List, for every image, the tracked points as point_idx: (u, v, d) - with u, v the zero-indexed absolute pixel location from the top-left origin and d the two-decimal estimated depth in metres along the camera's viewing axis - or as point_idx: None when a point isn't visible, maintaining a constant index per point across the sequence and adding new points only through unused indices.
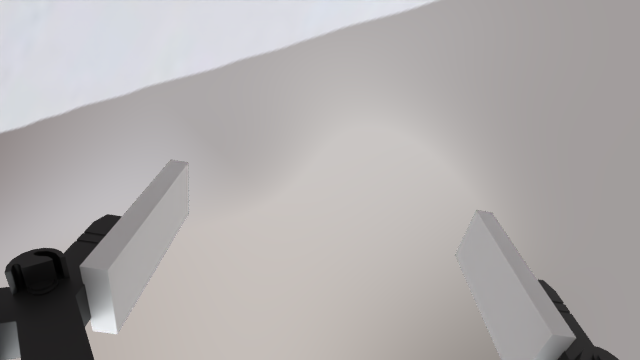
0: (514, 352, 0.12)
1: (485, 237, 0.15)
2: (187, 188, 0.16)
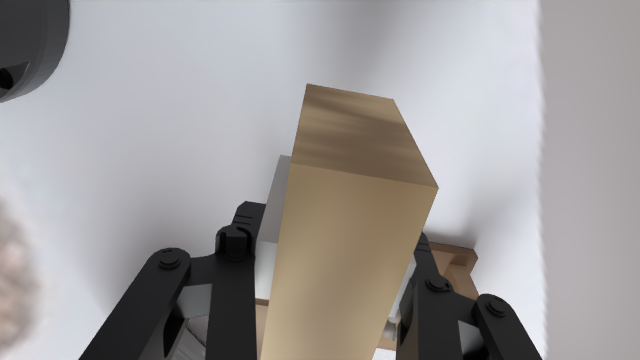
0: None
1: None
2: None
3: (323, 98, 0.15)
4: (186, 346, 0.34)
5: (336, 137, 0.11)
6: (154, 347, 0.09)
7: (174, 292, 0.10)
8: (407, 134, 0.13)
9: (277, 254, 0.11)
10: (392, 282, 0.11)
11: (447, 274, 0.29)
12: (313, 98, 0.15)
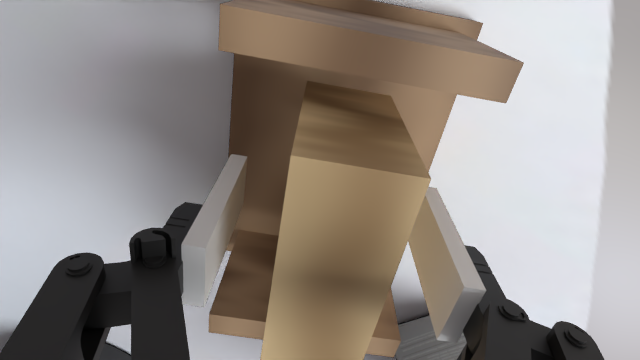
0: (439, 309, 0.13)
1: (425, 209, 0.16)
2: (244, 180, 0.18)
3: (322, 94, 0.15)
4: (409, 336, 0.28)
5: (334, 131, 0.12)
6: (72, 358, 0.09)
7: (88, 298, 0.09)
8: (402, 128, 0.14)
9: (278, 242, 0.12)
10: (388, 269, 0.12)
11: None
12: (313, 94, 0.15)
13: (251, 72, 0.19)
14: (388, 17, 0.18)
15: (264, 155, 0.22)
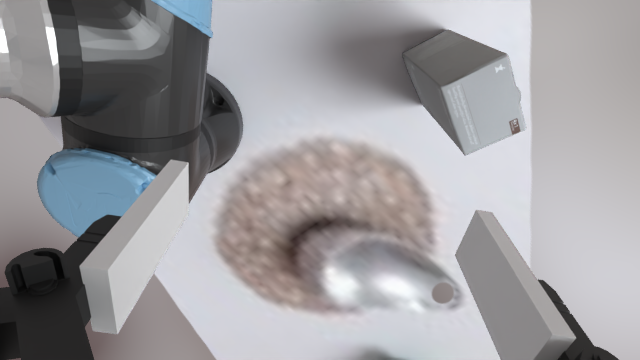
0: (514, 352, 0.12)
1: (485, 237, 0.15)
2: (187, 188, 0.16)
3: None
4: (415, 49, 0.44)
5: None
6: None
7: None
8: None
9: None
10: None
11: None
12: None
13: None
14: None
15: None
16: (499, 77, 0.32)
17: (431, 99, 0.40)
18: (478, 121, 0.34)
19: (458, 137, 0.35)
